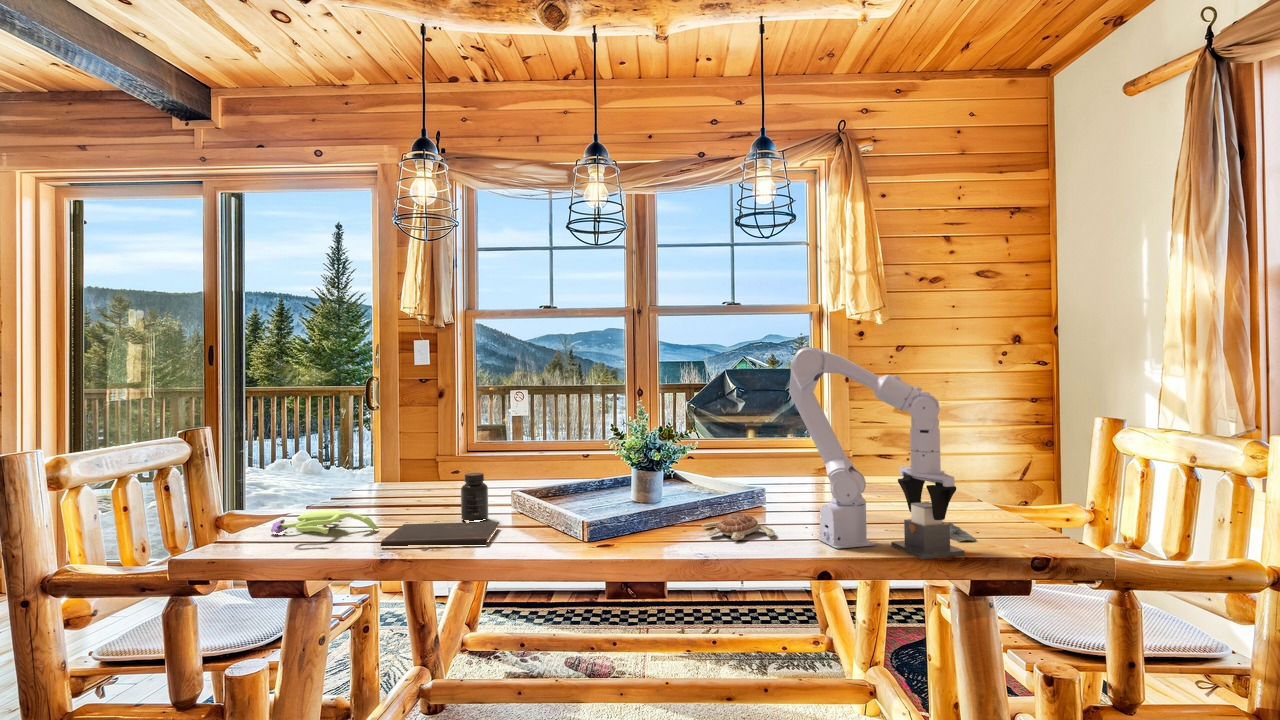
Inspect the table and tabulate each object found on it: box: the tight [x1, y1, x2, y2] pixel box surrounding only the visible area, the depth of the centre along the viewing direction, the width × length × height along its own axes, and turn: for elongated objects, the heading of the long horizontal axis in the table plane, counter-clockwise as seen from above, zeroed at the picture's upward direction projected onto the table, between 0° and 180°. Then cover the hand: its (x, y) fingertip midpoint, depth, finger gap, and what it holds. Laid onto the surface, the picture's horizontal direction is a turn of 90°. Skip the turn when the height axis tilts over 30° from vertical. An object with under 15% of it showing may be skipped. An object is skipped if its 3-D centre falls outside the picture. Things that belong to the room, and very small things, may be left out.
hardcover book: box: [380, 521, 500, 547], centre depth 149 cm, size 16×23×2 cm
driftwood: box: [947, 522, 978, 543], centre depth 151 cm, size 21×7×2 cm, turn 172°
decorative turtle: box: [701, 512, 776, 541], centre depth 151 cm, size 18×17×5 cm
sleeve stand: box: [890, 518, 966, 560], centre depth 135 cm, size 10×10×6 cm
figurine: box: [270, 509, 380, 535], centre depth 156 cm, size 18×27×6 cm
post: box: [910, 501, 943, 526], centre depth 135 cm, size 4×4×9 cm
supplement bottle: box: [460, 472, 489, 521], centre depth 168 cm, size 7×7×12 cm
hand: (926, 515), depth 135 cm, fingers open, 7 cm apart
